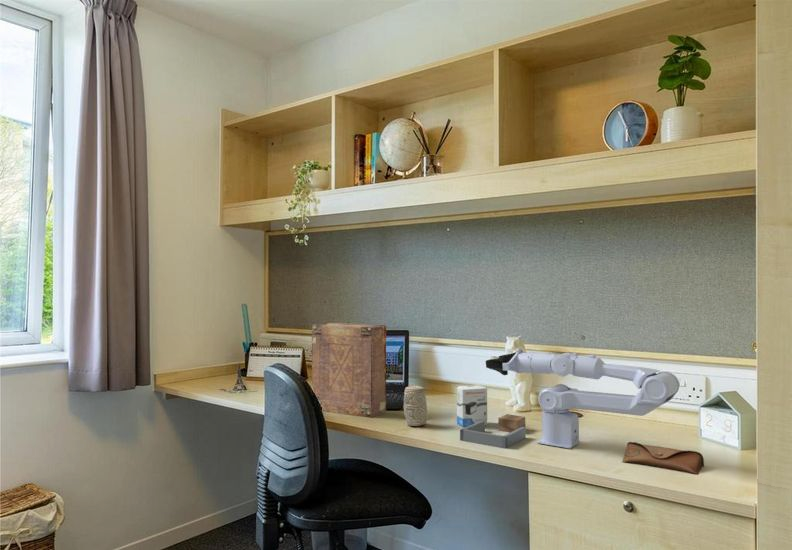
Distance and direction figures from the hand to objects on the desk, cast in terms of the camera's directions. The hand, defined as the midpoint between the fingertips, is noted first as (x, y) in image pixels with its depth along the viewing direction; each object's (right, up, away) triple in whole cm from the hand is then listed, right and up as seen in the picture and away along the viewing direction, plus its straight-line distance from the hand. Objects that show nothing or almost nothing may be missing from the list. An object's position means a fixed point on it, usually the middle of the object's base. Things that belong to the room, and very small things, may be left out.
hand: (493, 361), depth 176 cm
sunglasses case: (+36, -21, -32) cm, 53 cm away
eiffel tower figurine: (-95, -23, +69) cm, 119 cm away
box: (-1, -21, -8) cm, 22 cm away
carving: (-23, -21, +8) cm, 32 cm away
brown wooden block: (+6, -21, +1) cm, 22 cm away
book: (-46, -22, +29) cm, 58 cm away
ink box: (-5, -21, +8) cm, 23 cm away
